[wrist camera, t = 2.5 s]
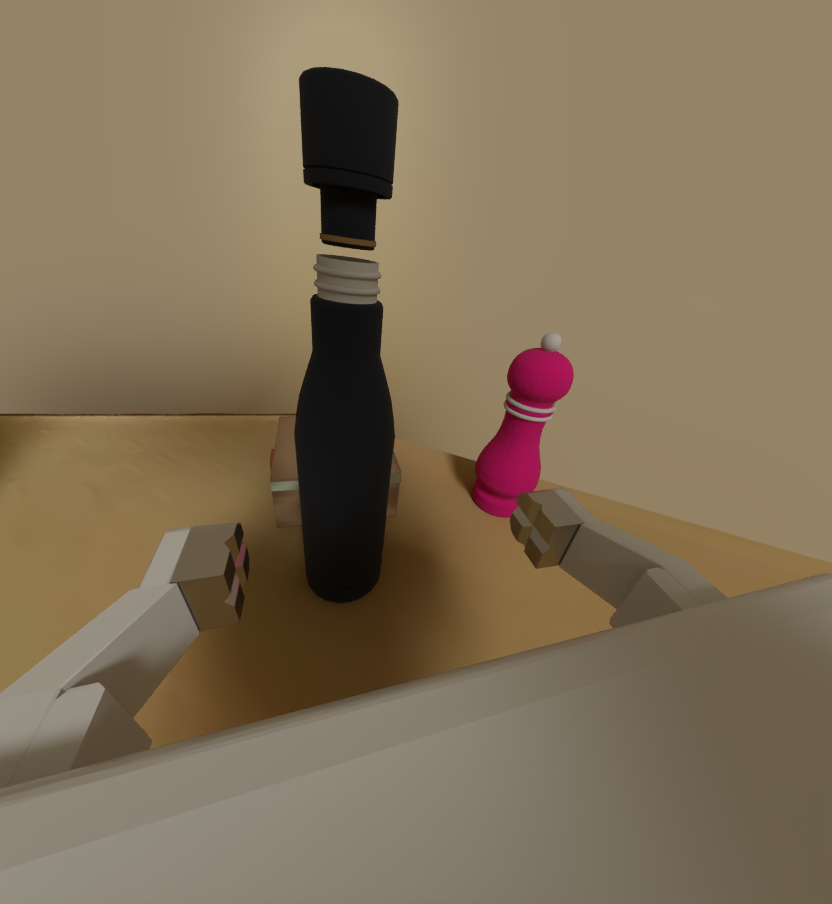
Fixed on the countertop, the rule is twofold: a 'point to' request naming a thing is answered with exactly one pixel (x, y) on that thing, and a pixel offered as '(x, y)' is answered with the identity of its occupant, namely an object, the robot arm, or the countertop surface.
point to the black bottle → (345, 336)
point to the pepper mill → (522, 427)
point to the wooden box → (287, 477)
